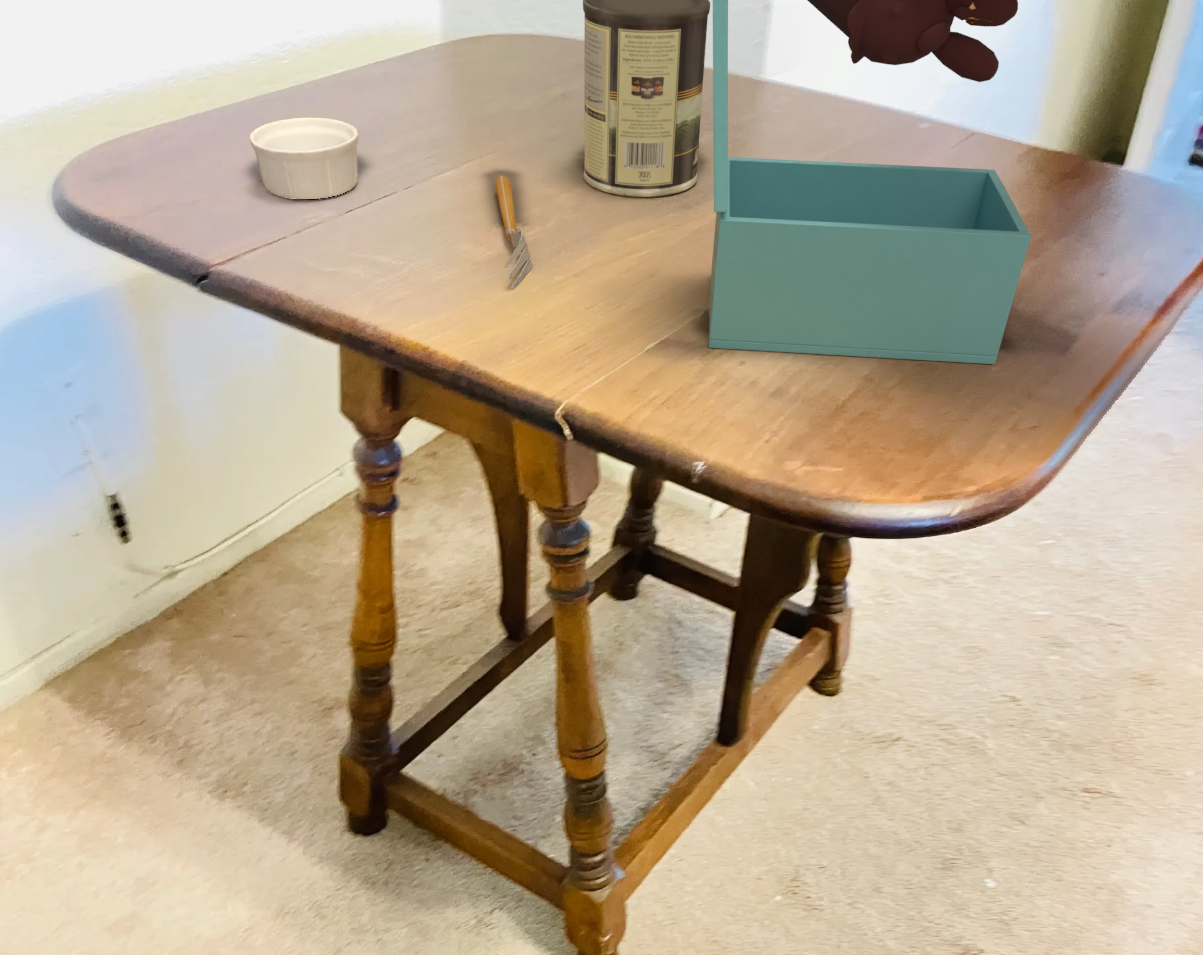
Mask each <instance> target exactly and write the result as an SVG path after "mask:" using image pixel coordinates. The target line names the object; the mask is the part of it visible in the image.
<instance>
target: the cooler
mask: <svg viewBox="0 0 1203 955" xmlns="http://www.w3.org/2000/svg"><path fill="white" fill-rule="evenodd" d="M714 225H715V226H714V235H713V236H714V237H713V247H712V260H711V271H710V291H709V292H710V296H709V320H708V321H709V324H708V348H709V349H724V350H741V351H755V352H756V351H757V352H758V351H759V352H776V353H790V354H791V353H792V354H793V353H794V354H809V355H826V356H827V355H828V356H845V357H861V358H878V359H895V360H912V361H913V360H916V361H929V362H945V363H964V364H979V365H996V362H997V359H998V355H999V351H1000V348H1001V345H1002V341H1003V337H1004V333H1005V331H1006V327H1007V323H1008V319H1009V317H1010V312H1011V310H1012V305H1013V302H1014V299H1015V295H1016V291H1017V287H1018V284H1019V280H1020V277H1021V273H1022V270H1023V267H1024V264H1025V263H1024V262H1025V260H1026V256H1027V253H1028V248H1029V245H1030V242H1031V239H1032V235H1031V233H1030V231H1029V229H1028V228H1027V225H1026V224H1025V222H1024V220H1023V218H1022V216H1021V215H1020V213H1019V211H1018V209H1017V207H1016V206H1015V203H1014V202H1013V200H1012V198H1011V196H1010V194H1009V193H1008V191H1007V189H1006V187H1005V184H1003V182H1002V180H1001V178H1000V176H999V174H998V172H997V171H996V169H990V168H989V169H986V168H969V167H968V168H966V167H963V168H962V167H947V166H945V167H943V166H924V165H920V166H919V165H906V164H905V165H904V164H880V163H863V162H862V163H860V162H839V161H823V160H821V161H819V160H800V159H798V160H797V159H781V158H780V159H778V158H759V157H757V158H756V157H736V156H735V157H734V156H728V174H727V211H726V212H715V224H714Z"/></svg>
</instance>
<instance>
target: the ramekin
mask: <svg viewBox="0 0 1203 955" xmlns="http://www.w3.org/2000/svg"><path fill="white" fill-rule="evenodd" d="M249 142H250V145H251V147H252V149H253V151H254V154H255V157H256V162H257V166H258V168H259V172H260V176H261V181H262V184H263V186H264V187H265V189H266V190H267V191H268V192H269V191H270V192H269V193H270V194H272V193H274V194H276V195H279V196H283V197H287V198H296V199H317V198H319V200H321V199H320V198H326V199H329V198H328V197H331V198H333V197H332V196H335V197H338V196H341V195H344V194H345V192H346V193H347V191H348V192H350V191H351V190H353V188H354V187H355V186H356V184H357V182H358V178H359V173H358V172H359V171H358V170H359V168H358V143H359V131H358V130H357V128H356V127H354V125H352V124H350V123H348V122H345V121H342V120H338V119H333V118H327V117H295V118H294V117H293V118H285V119H280V120H275V121H271V122H268V123H265V124H263V125H260V126H259V127H256V128H255V129H254V130H252V132H251V133H250V135H249ZM343 193H344V194H343ZM274 194H273V195H274ZM340 194H341V195H340ZM276 195H275V196H276ZM337 195H338V196H337ZM279 196H278V197H279ZM287 198H286V199H287Z"/></svg>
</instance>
